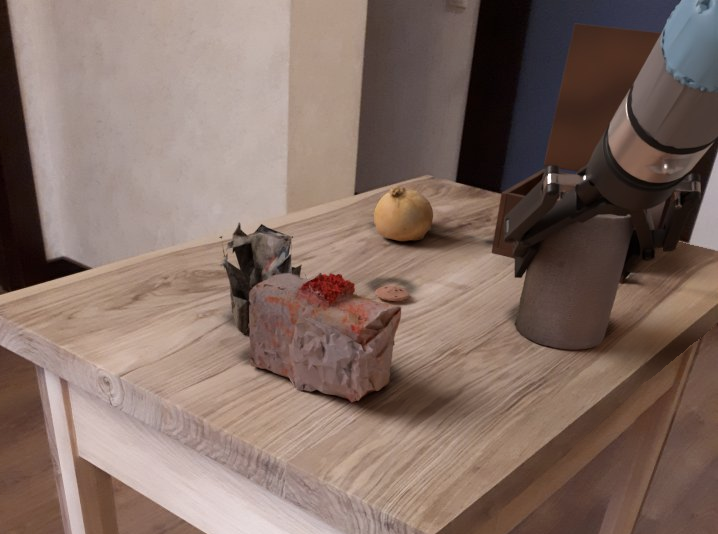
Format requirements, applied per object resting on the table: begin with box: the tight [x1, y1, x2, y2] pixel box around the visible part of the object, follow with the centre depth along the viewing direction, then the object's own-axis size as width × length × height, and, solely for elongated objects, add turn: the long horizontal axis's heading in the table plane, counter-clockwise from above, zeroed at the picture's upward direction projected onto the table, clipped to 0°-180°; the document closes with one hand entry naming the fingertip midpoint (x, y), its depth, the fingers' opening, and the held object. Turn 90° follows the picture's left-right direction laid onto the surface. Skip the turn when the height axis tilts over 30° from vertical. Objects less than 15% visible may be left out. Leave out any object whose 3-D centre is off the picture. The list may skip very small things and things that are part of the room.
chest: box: [491, 168, 667, 284], centre depth 107 cm, size 17×18×8 cm
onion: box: [373, 185, 434, 242], centre depth 107 cm, size 8×8×7 cm
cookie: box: [374, 285, 411, 302], centre depth 91 cm, size 4×4×1 cm
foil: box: [218, 222, 308, 334], centre depth 85 cm, size 12×11×15 cm
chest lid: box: [543, 22, 662, 173], centre depth 106 cm, size 18×18×1 cm
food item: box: [248, 272, 402, 403], centre depth 71 cm, size 14×8×10 cm, turn 58°
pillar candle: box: [514, 191, 634, 350], centre depth 82 cm, size 10×10×15 cm
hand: (565, 268), depth 85 cm, fingers closed on pillar candle, 9 cm apart
